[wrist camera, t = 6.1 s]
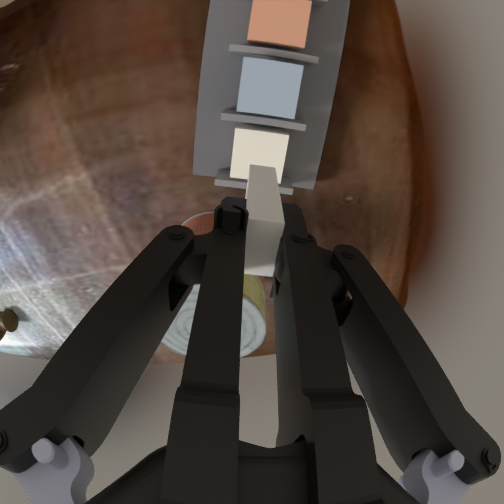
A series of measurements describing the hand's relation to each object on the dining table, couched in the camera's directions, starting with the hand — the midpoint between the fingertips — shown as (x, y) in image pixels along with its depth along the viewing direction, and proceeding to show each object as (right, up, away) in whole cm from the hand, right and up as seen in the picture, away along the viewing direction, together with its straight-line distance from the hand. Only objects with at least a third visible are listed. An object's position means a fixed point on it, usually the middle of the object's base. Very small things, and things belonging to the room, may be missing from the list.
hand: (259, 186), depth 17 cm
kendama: (-63, -19, +31) cm, 73 cm away
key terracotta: (+2, +15, +1) cm, 15 cm away
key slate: (+1, +10, +4) cm, 10 cm away
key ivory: (0, +5, +8) cm, 10 cm away
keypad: (+1, +14, +5) cm, 15 cm away
